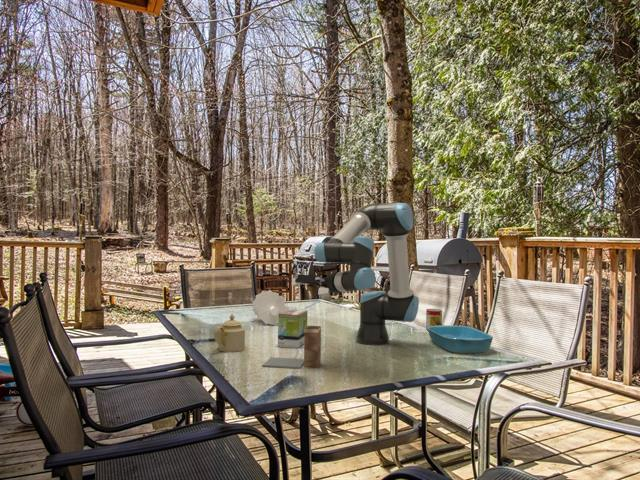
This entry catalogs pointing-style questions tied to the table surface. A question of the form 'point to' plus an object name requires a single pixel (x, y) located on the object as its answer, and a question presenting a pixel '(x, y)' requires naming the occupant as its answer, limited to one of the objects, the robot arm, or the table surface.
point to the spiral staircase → (269, 307)
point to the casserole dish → (460, 338)
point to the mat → (284, 363)
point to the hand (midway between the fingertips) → (306, 286)
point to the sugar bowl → (230, 336)
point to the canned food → (433, 317)
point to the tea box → (291, 328)
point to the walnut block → (312, 346)
